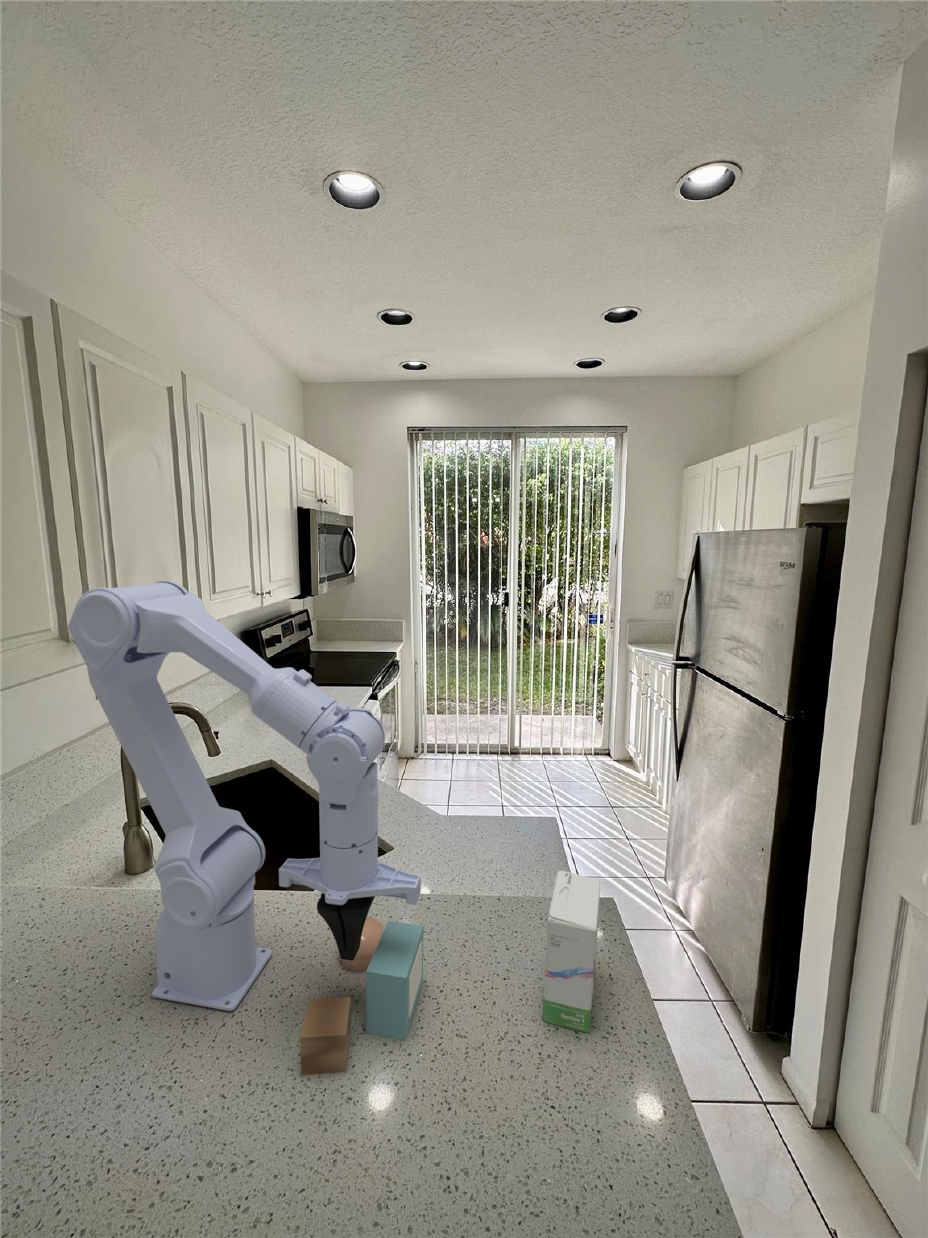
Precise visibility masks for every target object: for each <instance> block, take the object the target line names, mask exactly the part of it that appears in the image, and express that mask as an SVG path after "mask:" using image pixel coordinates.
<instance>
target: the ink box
mask: <svg viewBox="0 0 928 1238" xmlns="http://www.w3.org/2000/svg"><path fill="white" fill-rule="evenodd" d="M600 894H601V880H600V879H599V878H594V877H589V876H586V875H581V874H577V873H573V872H569V871H565V870H557V873H556V879H555V884H554V888H553V892H552V897H551V901H550V906H549V910H548V918H547V926H546V927H547V929H546V945H545V946H546V947H545V967H544V983H543V998H542V999H543V1001H542V1020H543V1021H544V1022H545V1023H548V1024H553V1025H557V1026H559V1027H563V1028H568V1029H571V1030H575V1031H580V1032H583V1033H590V1027H591V1015H592V1014H591V1013H592V1006H593V1005H592V1004H593V993H594V983H595V973H596V972H595V970H596V958H597V947H598V945H597V944H598V933H599V932H598V930H599V917H600V915H599V914H600V912H599V911H600V899H601V896H600Z"/></svg>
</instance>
